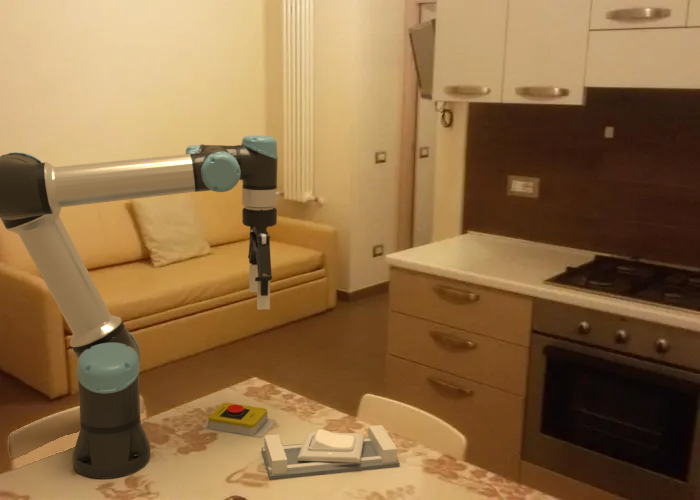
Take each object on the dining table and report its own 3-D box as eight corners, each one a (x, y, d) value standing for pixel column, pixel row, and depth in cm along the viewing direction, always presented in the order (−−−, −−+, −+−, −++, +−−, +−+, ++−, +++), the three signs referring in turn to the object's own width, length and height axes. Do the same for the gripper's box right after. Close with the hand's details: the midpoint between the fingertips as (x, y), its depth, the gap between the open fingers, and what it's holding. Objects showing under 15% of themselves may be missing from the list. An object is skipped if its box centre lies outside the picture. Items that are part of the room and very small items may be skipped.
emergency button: (218, 396, 176) (277, 405, 172) (218, 413, 177) (277, 422, 173) (200, 412, 167) (262, 421, 163) (200, 430, 168) (262, 440, 164)
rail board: (269, 479, 147) (270, 462, 146) (261, 450, 159) (261, 434, 158) (399, 466, 154) (400, 449, 153) (382, 439, 165) (383, 423, 165)
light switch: (305, 421, 162) (364, 423, 161) (306, 439, 163) (364, 440, 162) (296, 445, 152) (359, 446, 150) (297, 463, 152) (359, 465, 151)
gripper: (286, 217, 152) (284, 316, 157) (268, 198, 176) (267, 284, 180) (249, 217, 150) (249, 317, 155) (236, 198, 174) (236, 285, 179)
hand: (259, 300), depth 168 cm, fingers open, 13 cm apart
